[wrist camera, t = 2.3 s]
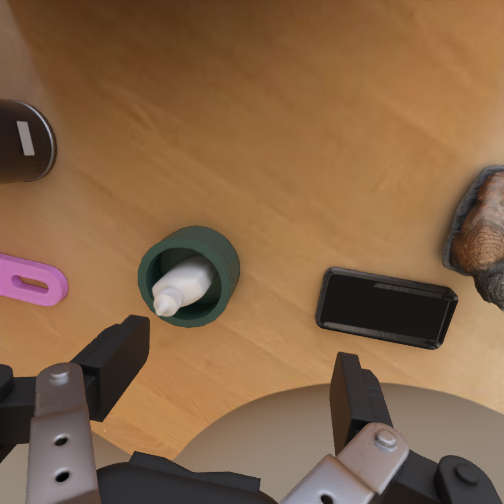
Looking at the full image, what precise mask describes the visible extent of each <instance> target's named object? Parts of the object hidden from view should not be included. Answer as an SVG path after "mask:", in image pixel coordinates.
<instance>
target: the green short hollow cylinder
mask: <svg viewBox="0 0 504 504" xmlns="http://www.w3.org/2000/svg"><path fill="white" fill-rule="evenodd" d="M197 255H204V256H205V257H206V258H207V259H208V260H209V261H211V262H212V263H213V265H214V266H215V268H216V270H217V271H218V275H217V276H216V278H215V279H214V281H213V282H212V284H211V285H210V287H209V288H208V290H207V291H206V292H205V294H204V295H203V296H202V297H201V298H200V299H198V300H197V301H195V302H194V303H192V304H189V305H187V306H183V307H180V308H179V309H178V310H177V311H176V313H175V314H174V315H172V316H167V317H166V316H162V315H161V316H158V315H157V314H156V310H155V308H154V296H153V292H152V288H153V286H154V285H155V284H156V283H157V282H158V281H159V280H160V279H161V278H162V277H163V276H164V275H165V274H166V273H167V272H168V271H169V270H171V269H172V268H173V267H174V266H175V265H176V264H177V263H179V262H180V261H182V260H184V259H186V258H188V257H191V256H197ZM239 276H240V263H239V259H238V256H237V253H236V251H235V249H234V248H233V246H232V245H231V243H230V242H229V241H228V240H227V239H226V238H225V237H224V236H222V235H221V234H220V233H218V232H216V231H214V230H212V229H210V228H206V227H201V226H190V227H185V228H182V229H179V230H178V231H176V232H174V233H172V234H171V235H169V236H168V237H166V238H165V239H163V240H162V241H160V242H159V243H157V244H156V245H154V246H153V247H151V248H150V249H149V251H148V252H147V253H146V254H145V255H144V257H143V258H142V260H141V263H140V266H139V269H138V286H139V289H140V292H141V295H142V298H143V300H144V301H145V303H146V304H147V305H148V307H149V308H150V309H151V311H152V312H154V313H155V314H156V315H157V316H158V317H159V318H161V319H162V320H164V321H166V322H168V323H170V324H172V325H175V326H180V327H186V328H192V327H200V326H204V325H206V324H208V323H210V322H212V321H214V320H215V319H216V318H218V317H219V316H220V315H221V314H222V313H223V311H224V310H225V308H226V306H227V304H228V302H229V300H230V298H231V296H232V293H233V291H234V289H235V287H236V285H237V283H238V280H239Z"/></svg>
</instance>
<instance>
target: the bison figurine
mask: <svg viewBox="0 0 504 504" xmlns="http://www.w3.org/2000/svg"><path fill="white" fill-rule="evenodd" d="M442 262H443V266H444V267H446V268H447V269H450V270H453V271H456V272H458V273H460V274H461V275H464V276H472V277H473V278H474V282H475V287H476V289H477V292H478V293H479V294H480V295H481V296H482V298H483V300H484V301H487V302H488V303H491V302H492V303H493V304H495V305H497V306H498V307H499V308H500V309H501V310H502V311H504V165H493V166H488V167H486V168H485V169H483V170H482V171H481V173H480V174H479V175H478V176H477V178H476V179H475V181H474V182H473V183H472V184H471V186H470V187H469V189H468V191H467V192H466V194H465V196H464V198H463V199H462V201H461V202H460V204H459V205H458V207H457V209H456V212H455V214H454V218H453V222H452V226H451V229H450V232H449V235H448V238H447V240H446V242H445V246H444V250H443V253H442Z"/></svg>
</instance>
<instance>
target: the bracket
mask: <svg viewBox="0 0 504 504" xmlns="http://www.w3.org/2000/svg"><path fill="white" fill-rule="evenodd" d="M19 276H22V277H26V278H31V279H35V280H39V281H43V282H45V283H46V284H47V286H48V289H45V288H41V287H37V286H33V285H29V284H25V283H23V282H22V281H21V280H20V278H19ZM67 292H68V283H67V280H66V278H65V276H64V275H63V274H62V273H61V272H60V271H59V270H58V269H57V268H55V267H53V266H50V265H46V264H42V263H38V262H34V261H30V260H25V259H21V258H17V257H13V256H9V255H5V254H1V253H0V296H6V297H10V298H14V299H18V300H22V301H26V302H30V303H34V304H38V305H42V306H52V305H54V304H56V303H58V302H59V301H61V300H62V299H64V298H65V296H66V295H67Z"/></svg>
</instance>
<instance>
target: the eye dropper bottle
mask: <svg viewBox="0 0 504 504" xmlns="http://www.w3.org/2000/svg"><path fill="white" fill-rule="evenodd" d="M217 275H218V271H217V270H216V268H215V266H214V265H213V263H212V262H211V261H209V260H208V259H207V258H206V257H205V256H204V255H197V256H191V257H188V258H186V259H184V260H182V261H180V262H179V263H177V264H176V265H175V266H174V267H173V268H172V269H171V270H169V271H168V272H167V273H166V274H165V275H164V276H163V277H162V278H161V279H160V280H159V281H158V282H157V283H156V284H155V285H154V286H153V288H152V292H153V296H154V308H155V310H156V314H157V315H158V316H161V315H162V316H166V317H167V316H172V315H174V314H175V313H176V311H177V310H178V309H179V308H180V307H183V306H187V305H189V304H192V303H194V302H195V301H197V300H198V299H200V298H201V297H202V296H203V295H204V294H205V292H206V291H207V290H208V288H209V287H210V285H211V284H212V282H213V281H214V279H215V278H216V276H217Z"/></svg>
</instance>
